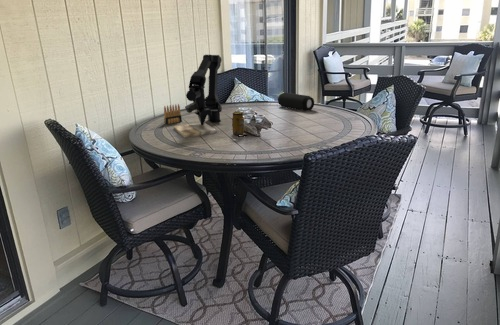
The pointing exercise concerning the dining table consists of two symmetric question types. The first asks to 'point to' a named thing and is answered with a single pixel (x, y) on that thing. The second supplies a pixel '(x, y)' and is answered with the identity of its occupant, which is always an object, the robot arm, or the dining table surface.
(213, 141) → the dining table surface
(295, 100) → the portable speaker
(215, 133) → the underlay mat
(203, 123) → the robot arm
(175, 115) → the ammunition clip
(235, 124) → the condiment
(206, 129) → the loose plank
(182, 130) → the plank
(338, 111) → the dining table surface
